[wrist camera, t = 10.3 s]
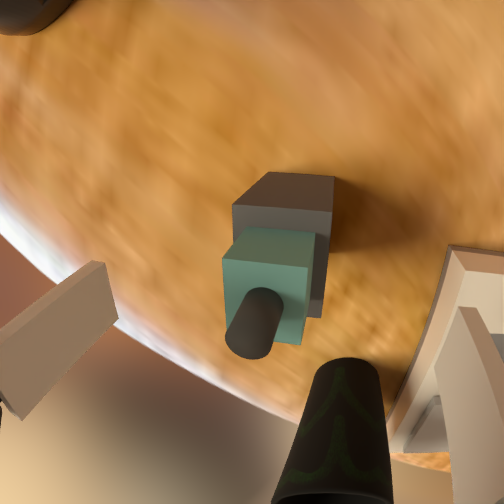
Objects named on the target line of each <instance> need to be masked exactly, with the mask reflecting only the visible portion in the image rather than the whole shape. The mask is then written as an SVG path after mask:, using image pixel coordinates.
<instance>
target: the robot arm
mask: <svg viewBox="0 0 504 504" xmlns="http://www.w3.org/2000/svg"><path fill="white" fill-rule="evenodd" d="M72 1H73V0H0V34H3V35H9V36H26V35H31V34H34V33H36V32H38V31H40V30H42V29H43V28H45V27H46V26H48V25H49V24H50V23H51V22H53V21H54V20H55V19H56V18H57V17H58V16H59V15H60V14H61V13H62V12H63V11H64V10H65V9H66V8H67V7H68V6H69V4H70V3H71V2H72ZM118 319H119V318H118V314H117V311H116V307H115V303H114V299H113V295H112V291H111V287H110V283H109V278H108V274H107V269H106V265H105V263H104V262H98V261H90V262H89V263H87V264H86V265H85V266H83V267H82V268H80V269H79V270H77V271H76V272H75V273H73V274H72V275H70V276H69V277H68V278H66V279H65V280H64V281H62V282H61V283H59V284H58V285H57V286H55V287H54V288H53V289H51V290H50V291H49V292H47V293H46V294H45V295H43V296H42V297H41V298H39V299H38V300H37V301H35V302H34V303H33V304H31V305H30V306H29V307H28V308H26V309H25V310H24V311H22V312H21V313H20V314H19V315H17V316H16V317H15V318H14V319H12V320H11V321H10V322H9V323H7V324H6V325H5V326H4V327H2V328H1V329H0V402H1V401H3V403H4V404H5V405H6V407H7V408H8V410H9V411H10V412H11V413H12V414H13V415H14V416H16V417H17V418H18V419H20V420H21V421H23V419H24V418H25V417H26V416H27V415H28V414H29V413H30V412H31V410H32V409H33V408H34V407H35V406H36V405H37V404H38V403H39V401H41V399H42V398H43V397H44V396H45V395H46V394H47V393H48V392H49V391H50V390H51V388H52V387H53V386H54V385H55V384H56V383H57V382H58V381H59V380H60V379H61V378H62V377H63V376H64V374H65V373H66V372H67V371H68V370H69V369H70V368H71V367H72V366H73V365H74V364H75V363H76V362H77V361H78V360H79V358H80V357H81V356H82V355H83V354H84V353H85V352H86V351H87V350H88V349H89V348H90V347H91V346H92V345H93V344H94V343H95V342H96V341H97V340H98V339H99V338H100V337H101V336H102V335H103V334H104V333H105V332H106V331H107V330H108V329H109V328H110V327H111V326H112V325H113V324H114V323H115V322H116V321H117V320H118ZM434 370H435V374H436V379H437V383H438V388H439V393H440V398H441V403H442V408H443V414H444V420H445V426H446V432H447V439H448V446H449V454H450V462H451V472H452V482H453V498H454V504H504V363H503V361H502V359H501V356H500V354H499V352H498V350H497V348H496V346H495V343H494V341H493V339H492V337H491V335H490V333H489V331H488V329H487V327H486V325H485V323H484V321H483V319H482V317H481V315H480V314H479V312H478V310H477V308H475V307H462V306H458V308H457V311H456V313H455V316H454V319H453V322H452V324H451V327H450V330H449V332H448V335H447V337H446V340H445V342H444V345H443V347H442V349H441V352H440V354H439V356H438V359H437V361H436V363H435V365H434ZM1 417H2V408H1V406H0V426H1Z"/></svg>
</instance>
